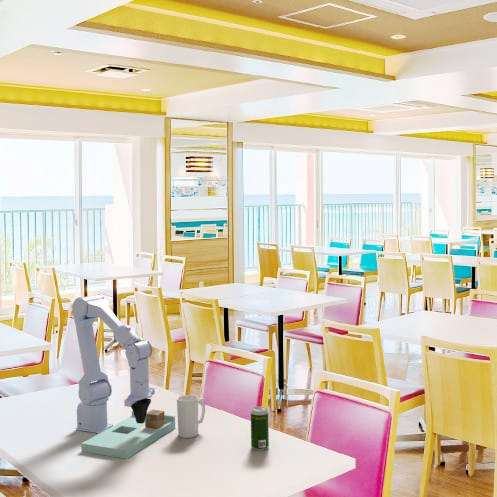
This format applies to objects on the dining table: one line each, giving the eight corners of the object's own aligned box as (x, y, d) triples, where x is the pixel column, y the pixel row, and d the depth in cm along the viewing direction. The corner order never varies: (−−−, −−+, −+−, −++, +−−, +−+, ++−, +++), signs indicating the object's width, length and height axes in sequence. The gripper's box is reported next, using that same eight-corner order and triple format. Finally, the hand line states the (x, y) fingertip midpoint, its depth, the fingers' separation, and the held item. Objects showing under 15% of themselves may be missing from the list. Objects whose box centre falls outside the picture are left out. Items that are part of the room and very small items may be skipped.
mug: (185, 440, 223) (184, 402, 222) (173, 434, 228) (172, 397, 227) (211, 432, 229) (210, 396, 228) (199, 427, 235) (198, 391, 234)
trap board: (81, 451, 214) (81, 438, 214) (133, 422, 241) (133, 410, 241) (126, 458, 208) (126, 445, 208) (175, 427, 235) (174, 415, 234)
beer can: (272, 449, 214) (271, 410, 213) (256, 452, 212) (255, 412, 211) (263, 443, 219) (263, 405, 218) (248, 446, 217) (247, 408, 216)
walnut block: (145, 427, 228) (144, 413, 228) (152, 423, 232) (152, 409, 232) (157, 429, 226) (157, 415, 226) (164, 424, 230) (164, 411, 230)
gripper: (138, 387, 213) (139, 431, 214) (162, 375, 226) (163, 417, 227) (118, 385, 215) (119, 428, 217) (143, 373, 229) (144, 414, 230)
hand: (140, 422), depth 222 cm, fingers closed
